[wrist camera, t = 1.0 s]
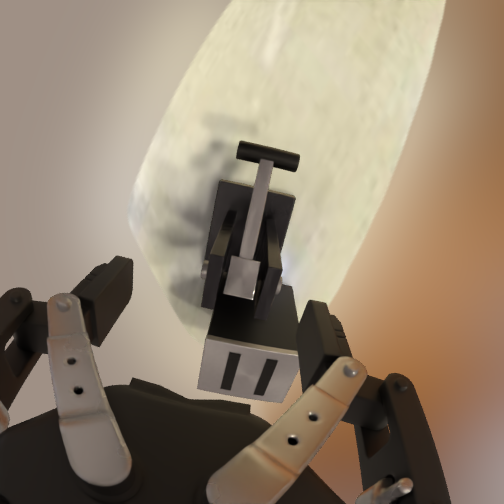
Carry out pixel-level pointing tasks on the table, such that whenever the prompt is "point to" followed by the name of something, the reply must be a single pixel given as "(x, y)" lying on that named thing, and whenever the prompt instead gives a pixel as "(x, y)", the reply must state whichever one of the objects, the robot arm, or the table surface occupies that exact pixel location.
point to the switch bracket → (230, 237)
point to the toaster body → (250, 348)
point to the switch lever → (255, 215)
